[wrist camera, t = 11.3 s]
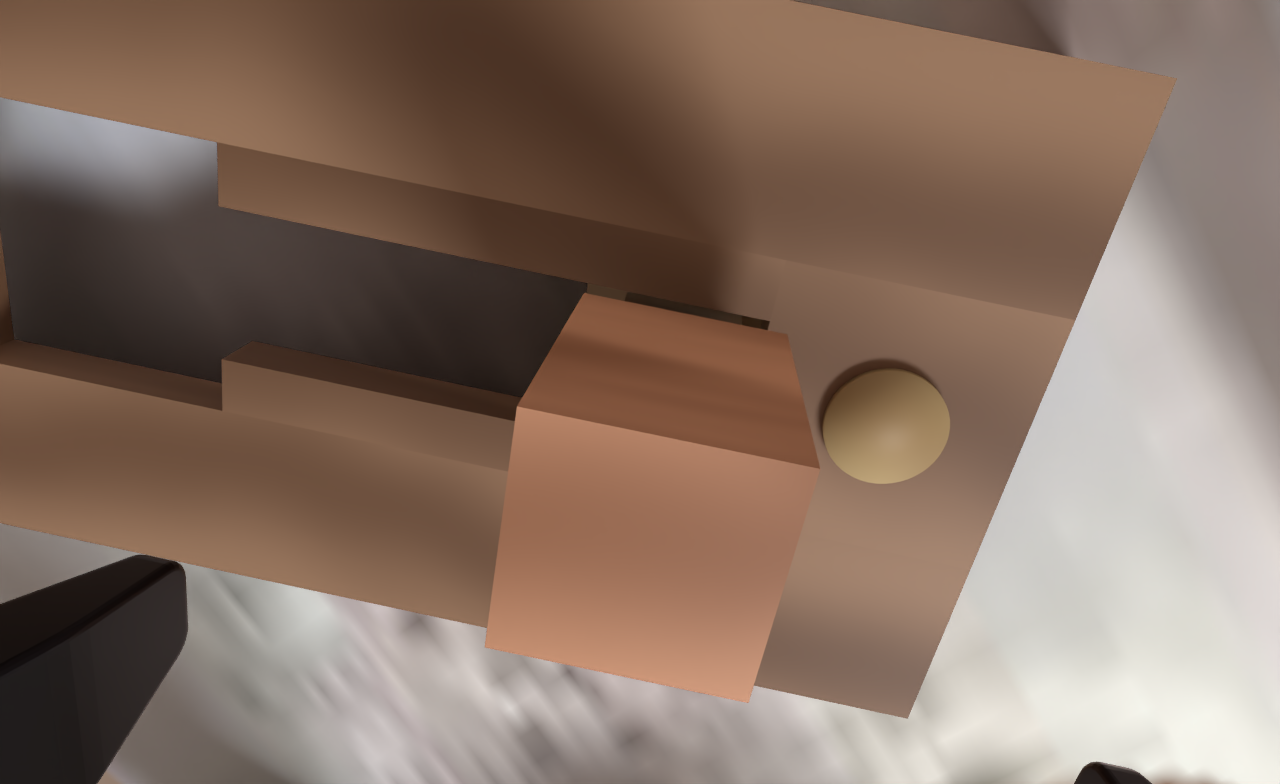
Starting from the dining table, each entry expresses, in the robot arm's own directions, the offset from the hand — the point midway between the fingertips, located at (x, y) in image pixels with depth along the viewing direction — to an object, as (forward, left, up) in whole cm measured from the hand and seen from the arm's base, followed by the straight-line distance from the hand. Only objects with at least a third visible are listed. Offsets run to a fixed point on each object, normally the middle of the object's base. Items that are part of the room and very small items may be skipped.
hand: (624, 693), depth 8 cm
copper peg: (0, 0, -13) cm, 13 cm away
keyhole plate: (0, +6, -13) cm, 14 cm away
